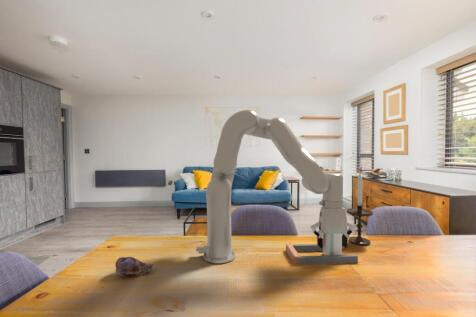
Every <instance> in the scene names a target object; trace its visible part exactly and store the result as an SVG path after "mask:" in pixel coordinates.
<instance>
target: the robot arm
mask: <svg viewBox="0 0 476 317" xmlns="http://www.w3.org/2000/svg"><path fill="white" fill-rule="evenodd" d="M244 135H247V136H252V137H257V138H260V139H266V140H270V141H272V143H273V144H274V146H275V148H276V149H277V150H278V151H279V153H280V154H281V156H282V157H283V159H284V160H285V161H286V162H287V163H288V164H289V165H290V166H292V167H293V168H294V169H295V170H296V171H297V173H299V175H300V176H301V185H302V186H303V188H304V189H305V190H307V191H309V192H311V193H312V194H315V195H321V194H322V199H321V201H319V203H318V204H319V205H320V206H321V207H320V209H319V210H320V211H319V217H318V222H315V223H314V224H312V225H311V226H310V229H311V231H312V233H313V234H314V235H315V236H316V242H317V243H316V244H317V245H318V246H319V247H320V248H323V235H324V234H330V233H331V232H332V231H334V230H335V229H336V230H338V231H339V232H341V234H342V246H343V248H345V249H346V248H348V245H349V244H348V242H349V238H350V235H351V234H352V233H353V231H354V228H355V225H354V224H351V223H349V222H348V217H347V210H346V208H345V207H344V202H343V201H344V200H343V199H344V177H343V175H342V173H338V172H326V173H325V172H324V171H323V169H322V168H321V167H320V165H319V164H318V163H317V161H316V160H315V159H314V158H313V156H311V155H310V153H309V152H308V151H307V150H306V149H305V148H304V146H303V145H302V143H300V141H299V139H298V138H297V136H296V135H295V134H294V131H292V129H291V127H290V126H289V124H288V123H287V122H286V121H285V120H284V119H283V118H281V117H273V118H270V119H269V118H264V117H260V116H259V115H258V114H257V113H256V112H255V111H254V110H250V109H243V110H239V111H237V112H235V113H233V114H232V115H231V116H229V117H228V119H226V121H225V123H224V125H223V127H222V129H221V132H220V136H219V140H218V143H217V148H216V153H215V155H214V158H213V168H212V174H211V176H210V177H211V178H210V181H209V182H208V184H207V186H206V191H205V192H206V193H205V199H206V200H205V201H206V220H207V221H206V223H207V224H206V226H207V227H206V228H207V230H206V234H207V236H206V237H207V238H206V239H207V241H206V242H207V243H206V245H204V246H201V245H200V246H195V250H196V252H198V254H203V259H204V260H205V261H206V262H208V263H211V264H227V263H230V262H232V261H233V260H234V259H235V258H236V252H235V251H234V250H232V187H233V181H234V179H235V174H236V169H237V166H238V157H239V152H240V147H241V144H242V140H243V138H244ZM317 228H318V231H317V230H316V229H317Z"/></svg>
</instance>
